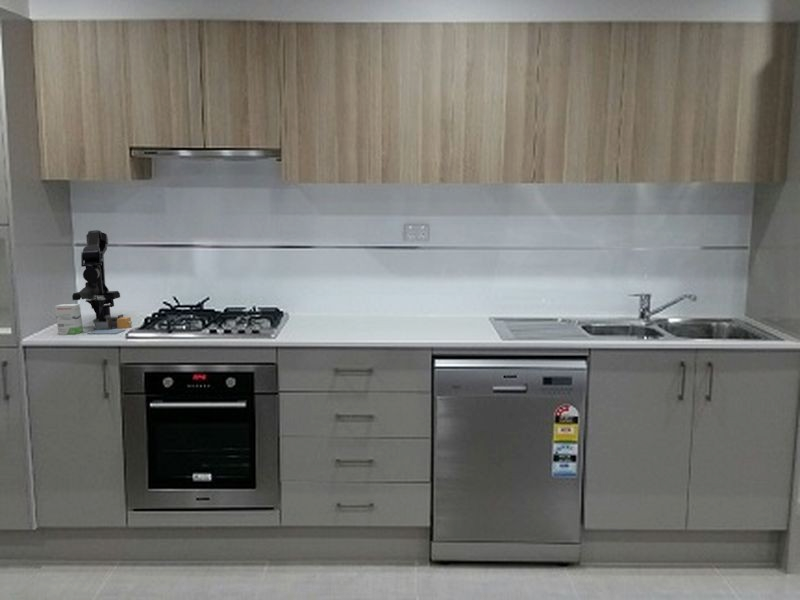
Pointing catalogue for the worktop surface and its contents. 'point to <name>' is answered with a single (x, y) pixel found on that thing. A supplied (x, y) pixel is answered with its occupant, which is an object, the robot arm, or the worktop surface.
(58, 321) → the ink box
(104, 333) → the mat
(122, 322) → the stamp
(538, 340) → the worktop surface
